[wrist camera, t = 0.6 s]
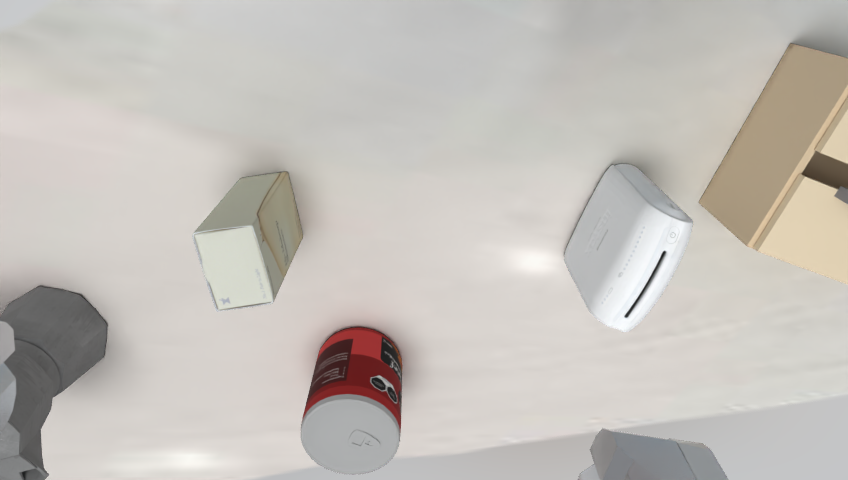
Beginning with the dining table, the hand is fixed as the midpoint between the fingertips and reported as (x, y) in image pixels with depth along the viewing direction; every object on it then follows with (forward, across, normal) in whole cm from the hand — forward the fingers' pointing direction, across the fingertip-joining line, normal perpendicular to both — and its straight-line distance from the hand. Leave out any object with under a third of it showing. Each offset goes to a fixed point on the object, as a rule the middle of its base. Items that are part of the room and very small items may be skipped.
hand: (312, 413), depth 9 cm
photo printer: (+45, -20, +11) cm, 51 cm away
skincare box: (+45, +8, +16) cm, 49 cm away
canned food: (+45, -3, +30) cm, 54 cm away
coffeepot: (+45, +26, +32) cm, 61 cm away
